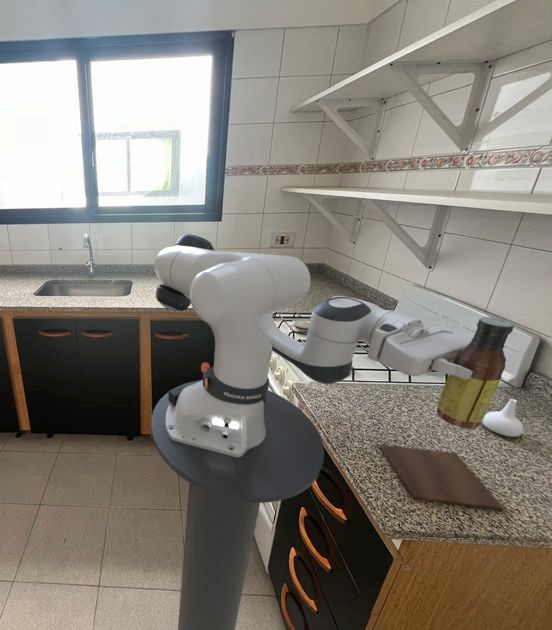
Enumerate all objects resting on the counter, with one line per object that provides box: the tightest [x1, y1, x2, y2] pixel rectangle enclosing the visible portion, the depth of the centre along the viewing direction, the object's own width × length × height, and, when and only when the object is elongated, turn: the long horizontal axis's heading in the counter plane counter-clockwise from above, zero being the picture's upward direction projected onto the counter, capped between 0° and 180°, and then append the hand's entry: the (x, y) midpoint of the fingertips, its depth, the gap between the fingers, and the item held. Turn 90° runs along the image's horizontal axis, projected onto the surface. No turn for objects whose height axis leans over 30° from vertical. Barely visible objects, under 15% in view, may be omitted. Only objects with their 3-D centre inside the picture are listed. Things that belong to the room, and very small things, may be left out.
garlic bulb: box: [481, 398, 524, 438], centre depth 77 cm, size 6×6×8 cm
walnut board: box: [380, 445, 505, 511], centre depth 67 cm, size 14×13×1 cm
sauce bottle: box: [436, 316, 515, 430], centre depth 60 cm, size 7×6×20 cm
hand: (484, 370), depth 58 cm, fingers closed on sauce bottle, 6 cm apart
